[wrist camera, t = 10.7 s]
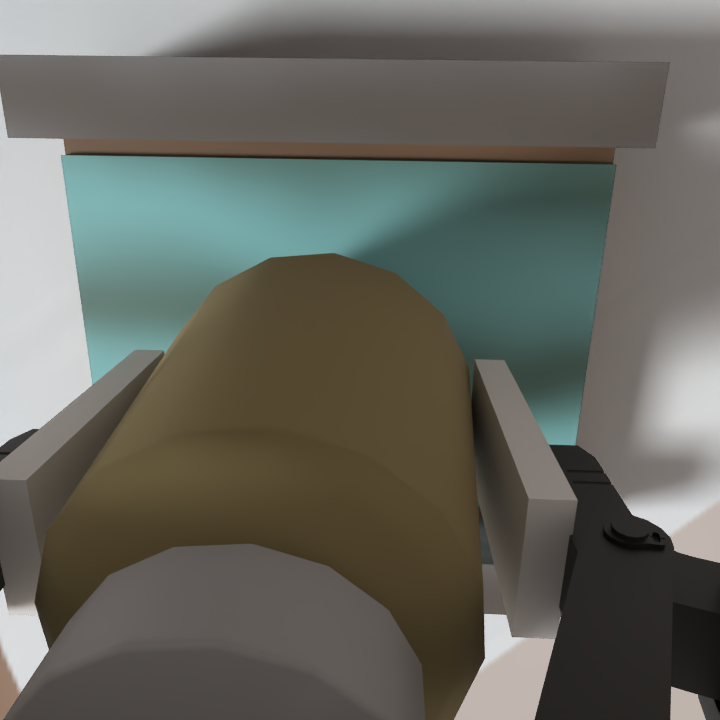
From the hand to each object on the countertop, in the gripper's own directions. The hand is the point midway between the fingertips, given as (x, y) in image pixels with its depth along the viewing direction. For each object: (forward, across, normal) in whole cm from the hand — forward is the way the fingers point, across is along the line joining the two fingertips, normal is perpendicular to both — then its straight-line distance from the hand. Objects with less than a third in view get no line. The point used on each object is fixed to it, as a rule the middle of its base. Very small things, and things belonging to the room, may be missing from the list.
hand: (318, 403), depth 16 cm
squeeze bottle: (+4, 0, 0) cm, 4 cm away
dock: (+8, 0, 0) cm, 8 cm away
